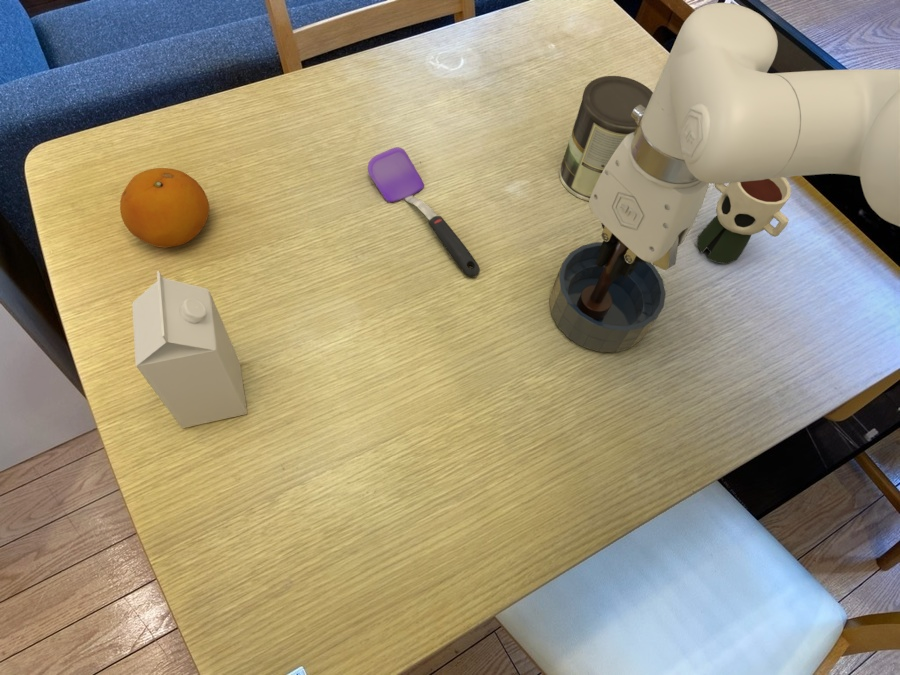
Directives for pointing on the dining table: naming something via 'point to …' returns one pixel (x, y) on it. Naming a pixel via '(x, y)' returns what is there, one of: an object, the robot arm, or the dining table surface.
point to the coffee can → (600, 130)
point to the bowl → (628, 313)
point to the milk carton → (187, 353)
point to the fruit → (164, 207)
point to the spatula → (416, 201)
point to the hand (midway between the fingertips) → (612, 266)
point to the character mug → (744, 216)
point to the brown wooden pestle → (600, 288)
